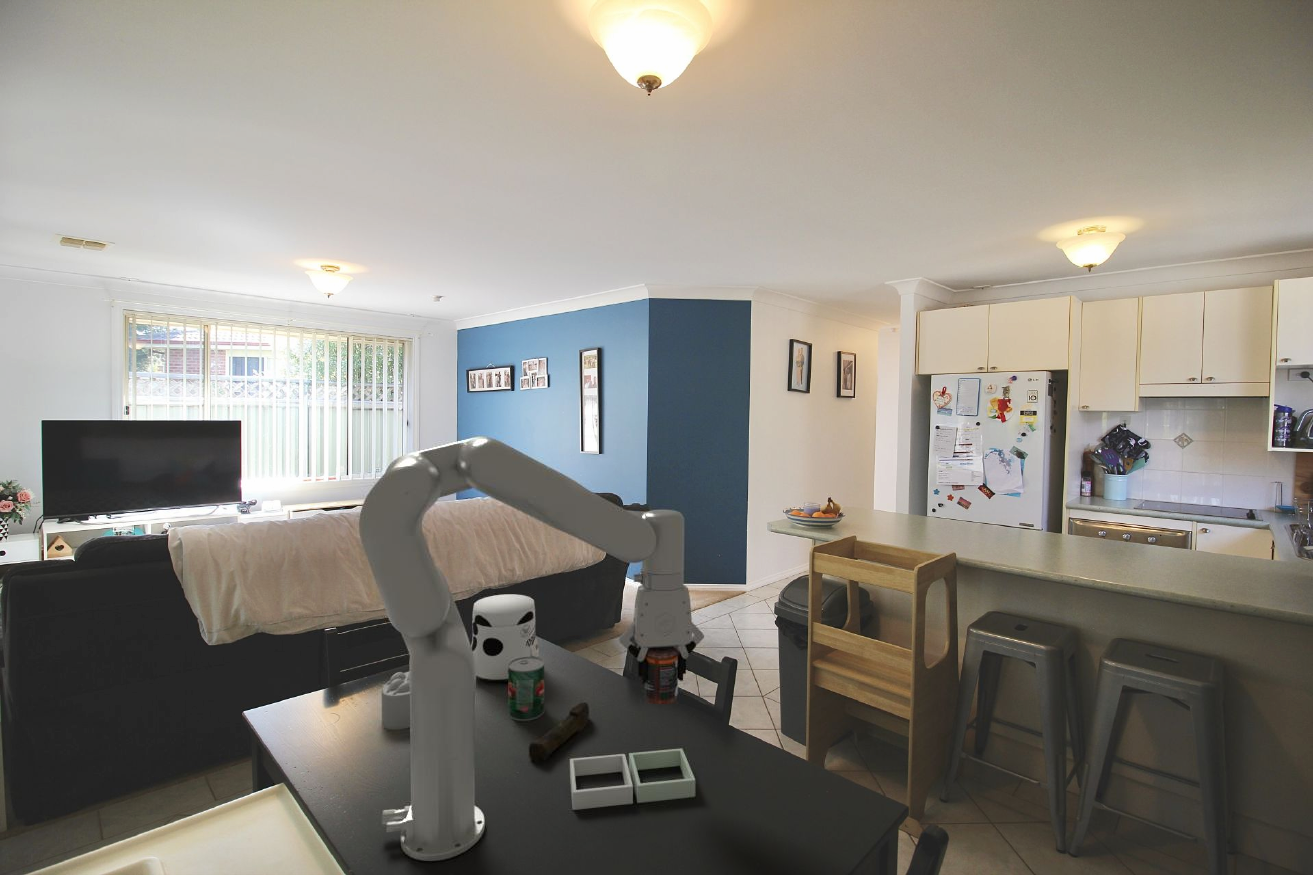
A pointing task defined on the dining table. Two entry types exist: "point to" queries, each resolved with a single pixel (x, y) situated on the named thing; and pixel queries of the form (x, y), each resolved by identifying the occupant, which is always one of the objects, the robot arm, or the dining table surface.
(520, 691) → the canned tomato
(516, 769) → the dining table surface
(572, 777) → the grey bin
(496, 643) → the milk container
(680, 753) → the sage bin
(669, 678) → the supplement bottle
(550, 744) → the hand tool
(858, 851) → the dining table surface
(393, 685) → the lumpy-topped squat cylinder
